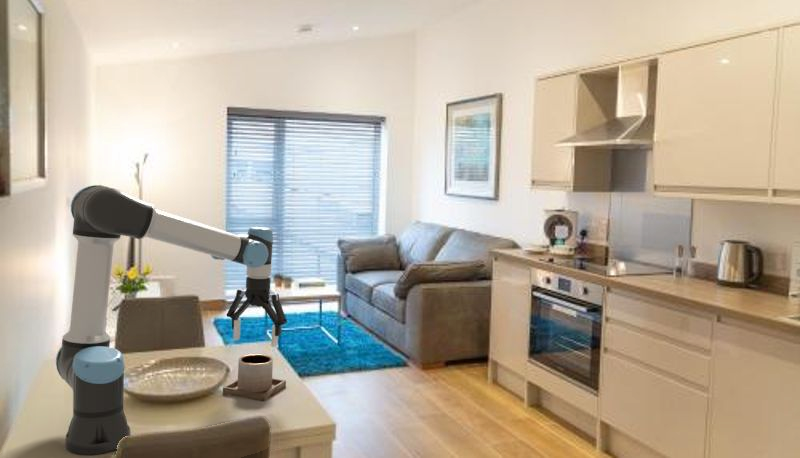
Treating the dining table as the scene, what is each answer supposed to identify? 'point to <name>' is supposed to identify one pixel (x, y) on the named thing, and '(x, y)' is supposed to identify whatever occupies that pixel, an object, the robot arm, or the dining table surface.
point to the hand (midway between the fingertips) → (255, 342)
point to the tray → (233, 390)
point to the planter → (255, 373)
